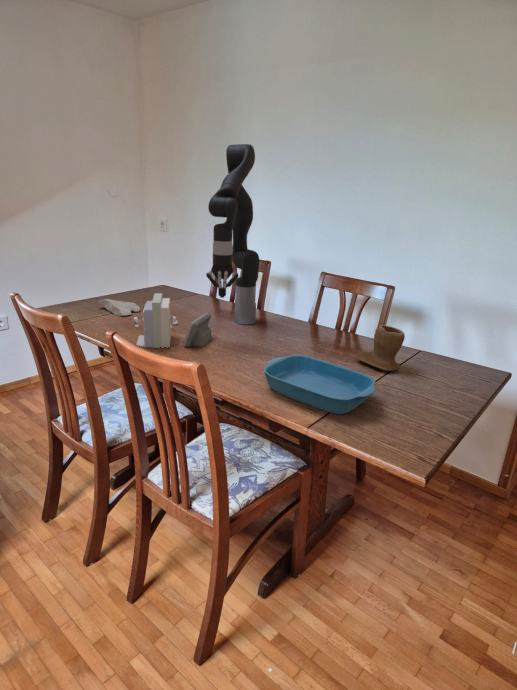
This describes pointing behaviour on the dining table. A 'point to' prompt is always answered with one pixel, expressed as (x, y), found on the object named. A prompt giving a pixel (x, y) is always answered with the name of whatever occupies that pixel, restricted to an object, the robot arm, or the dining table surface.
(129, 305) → the rock
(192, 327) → the digital clock
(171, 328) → the game piece set
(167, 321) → the book row
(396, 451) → the dining table surface
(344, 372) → the casserole dish
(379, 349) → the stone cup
